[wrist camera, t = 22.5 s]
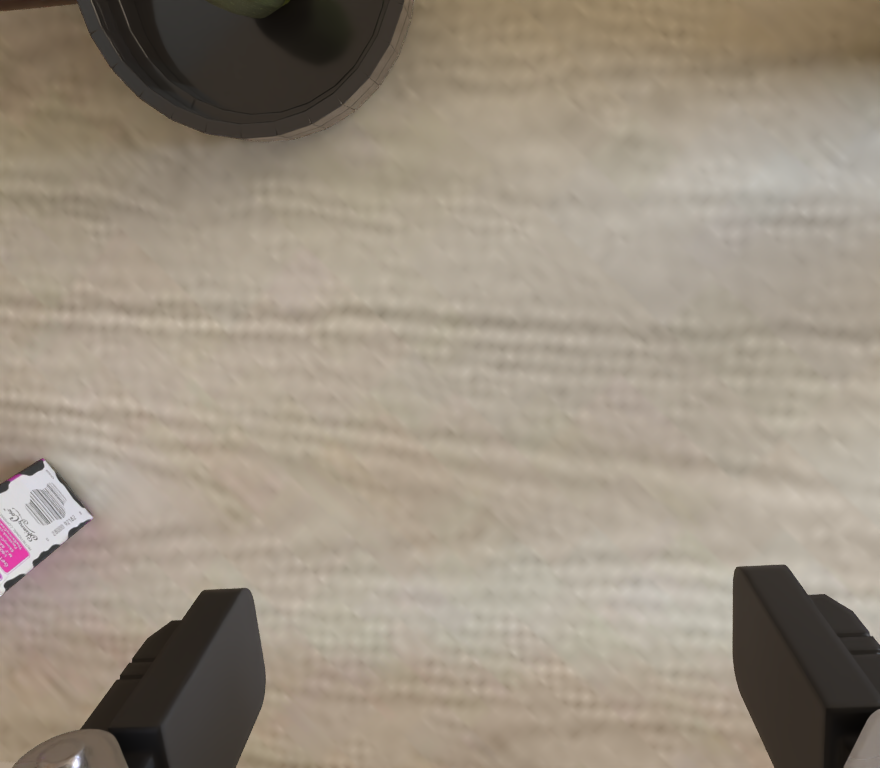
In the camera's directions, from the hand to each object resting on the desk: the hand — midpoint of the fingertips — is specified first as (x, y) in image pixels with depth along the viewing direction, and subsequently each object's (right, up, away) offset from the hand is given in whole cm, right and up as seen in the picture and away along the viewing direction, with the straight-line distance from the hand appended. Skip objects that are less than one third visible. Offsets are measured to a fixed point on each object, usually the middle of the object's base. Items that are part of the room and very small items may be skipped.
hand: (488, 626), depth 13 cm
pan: (-10, +24, +27) cm, 37 cm away
